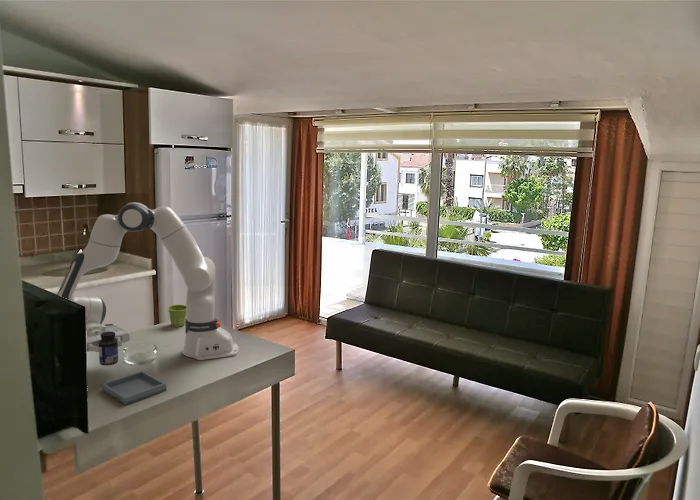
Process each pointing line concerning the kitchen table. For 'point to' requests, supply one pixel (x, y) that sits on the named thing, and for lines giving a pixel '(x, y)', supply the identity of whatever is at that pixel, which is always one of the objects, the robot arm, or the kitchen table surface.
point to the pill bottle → (108, 349)
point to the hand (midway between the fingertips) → (109, 346)
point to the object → (177, 315)
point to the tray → (133, 387)
